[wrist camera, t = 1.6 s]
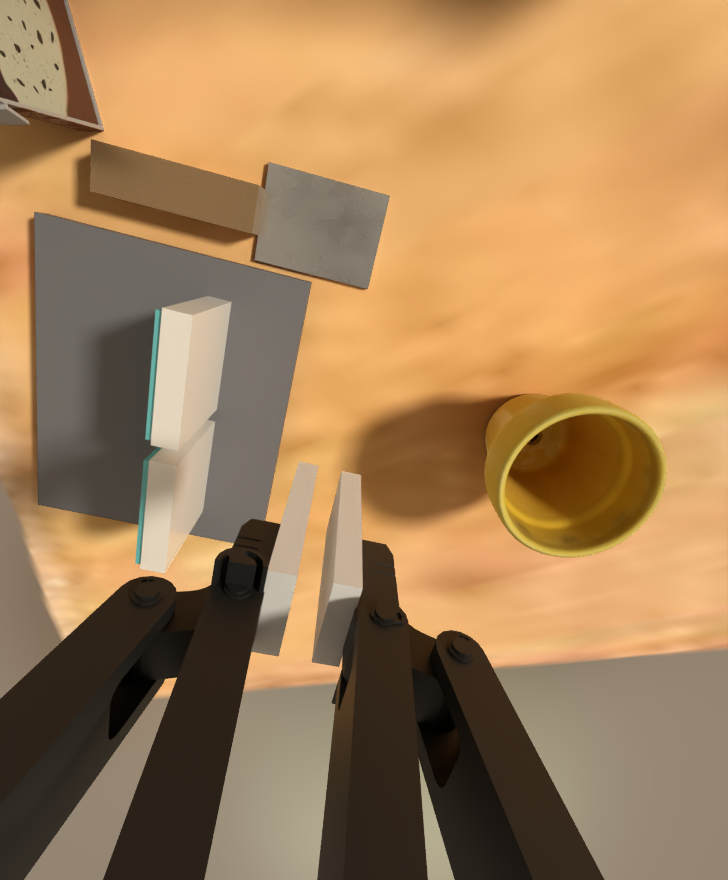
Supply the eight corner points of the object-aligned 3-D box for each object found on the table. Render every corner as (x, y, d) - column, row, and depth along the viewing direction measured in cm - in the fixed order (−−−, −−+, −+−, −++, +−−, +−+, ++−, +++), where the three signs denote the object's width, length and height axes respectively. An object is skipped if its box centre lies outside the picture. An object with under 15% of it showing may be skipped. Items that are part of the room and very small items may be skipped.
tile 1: (202, 294, 31) (154, 305, 24) (231, 301, 32) (192, 315, 24) (189, 403, 34) (143, 443, 27) (216, 409, 34) (178, 451, 27)
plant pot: (589, 354, 35) (672, 388, 25) (595, 475, 38) (669, 542, 29) (453, 384, 35) (486, 428, 26) (471, 500, 39) (506, 573, 30)
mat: (46, 213, 31) (34, 211, 29) (311, 282, 32) (310, 283, 31) (47, 497, 38) (38, 504, 37) (261, 539, 40) (258, 548, 39)
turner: (108, 221, 31) (89, 219, 29) (112, 119, 29) (91, 107, 27) (367, 288, 33) (368, 291, 31) (389, 196, 31) (391, 192, 28)
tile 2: (188, 415, 35) (142, 458, 27) (215, 421, 35) (176, 466, 27) (178, 506, 37) (133, 567, 30) (202, 511, 38) (164, 573, 30)
